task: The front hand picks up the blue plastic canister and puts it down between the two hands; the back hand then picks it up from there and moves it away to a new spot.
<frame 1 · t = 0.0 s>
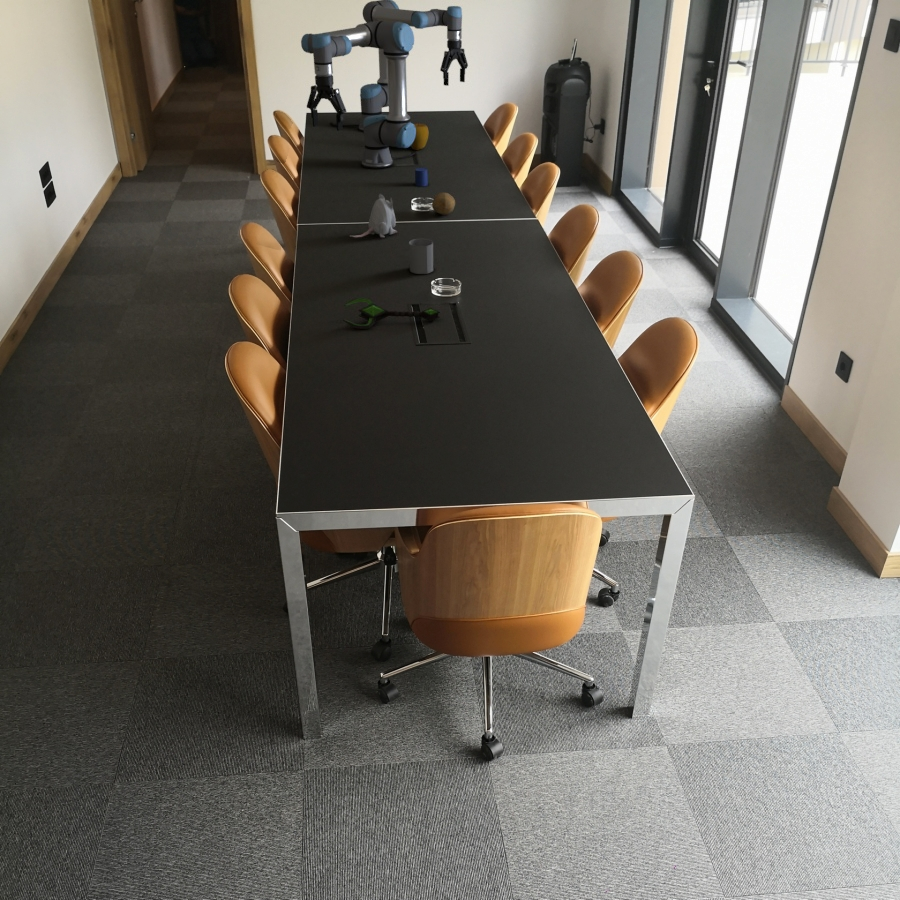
front hand: (327, 128, 372), 28 cm above the table, tool pointing down, fingers open, 13 cm apart
back hand: (454, 83, 461), 28 cm above the table, tool pointing down, fingers open, 13 cm apart
cup: (421, 270, 308), on the table
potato: (443, 213, 363), on the table
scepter: (392, 321, 271), on the table
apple: (418, 149, 455), on the table
toy: (373, 238, 337), on the table
canister: (421, 184, 399), on the table
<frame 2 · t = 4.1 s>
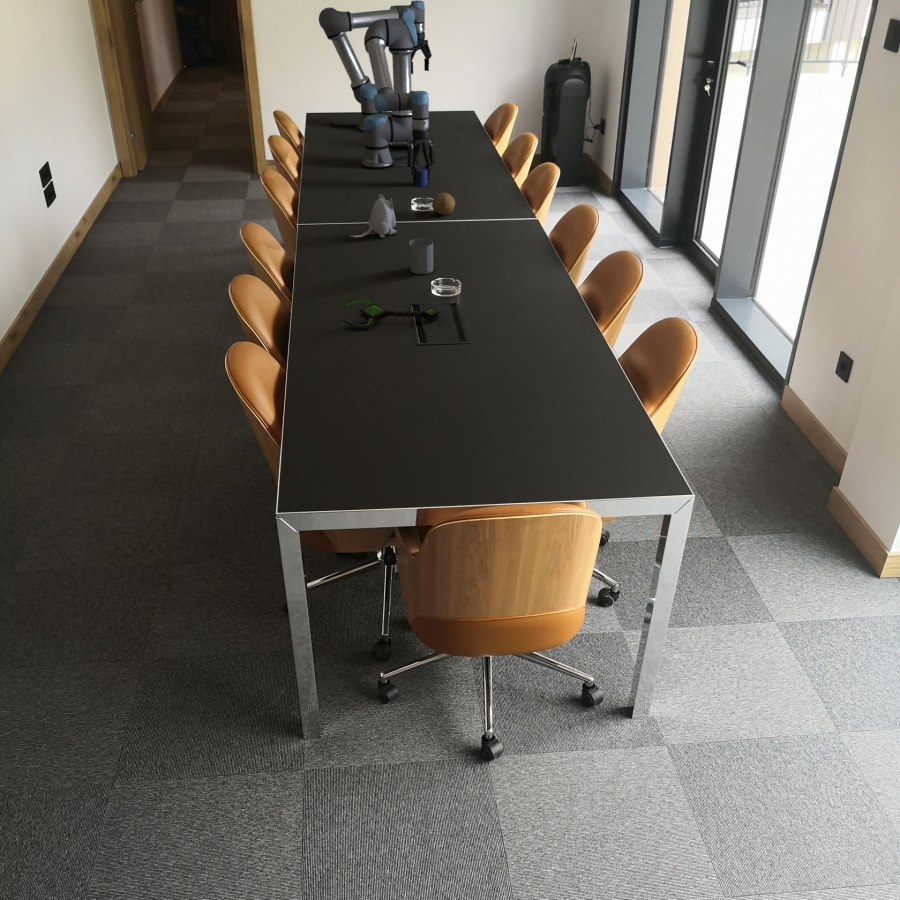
front hand: (421, 181, 398), 2 cm above the table, tool pointing down, fingers closed on canister, 6 cm apart
back hand: (418, 72, 498), 27 cm above the table, tool pointing down, fingers open, 13 cm apart
canister: (421, 184, 399), on the table, touching front hand
everything else where it was.
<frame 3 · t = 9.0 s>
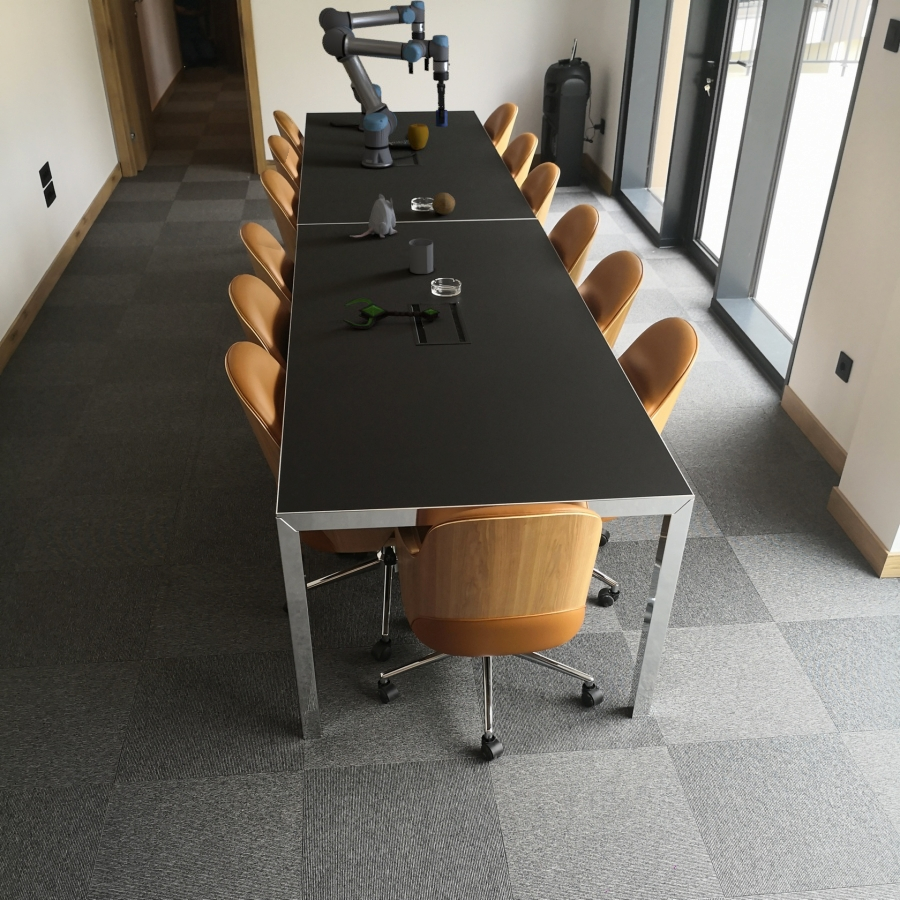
front hand: (441, 122, 424), 19 cm above the table, tool pointing down, fingers closed on canister, 6 cm apart
back hand: (418, 72, 498), 27 cm above the table, tool pointing down, fingers open, 13 cm apart
canister: (441, 125, 425), point 17 cm above the table, touching front hand
everything else where it was.
when the front hand's fingers open (3 cm above the table, at t = 14.0 s): canister drops 1 cm, on the table.
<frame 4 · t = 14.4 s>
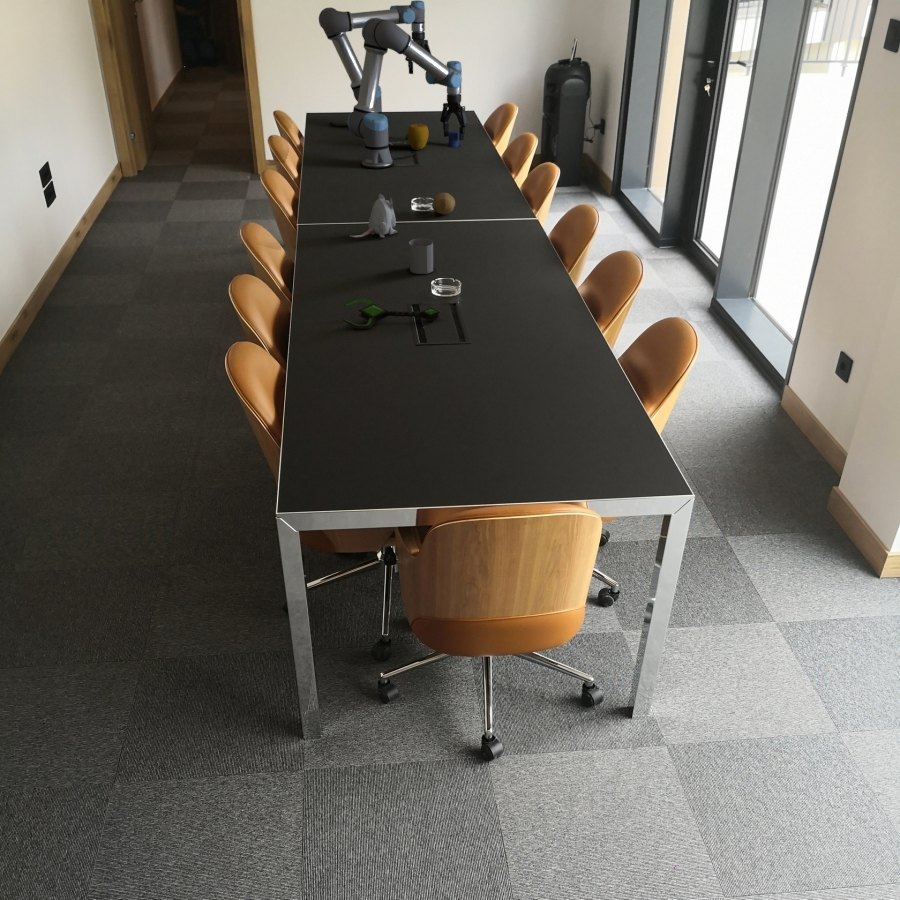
front hand: (453, 138, 459), 4 cm above the table, tool pointing down, fingers open, 10 cm apart
back hand: (418, 72, 498), 27 cm above the table, tool pointing down, fingers open, 13 cm apart
canister: (453, 145, 461), on the table
everything else where it was.
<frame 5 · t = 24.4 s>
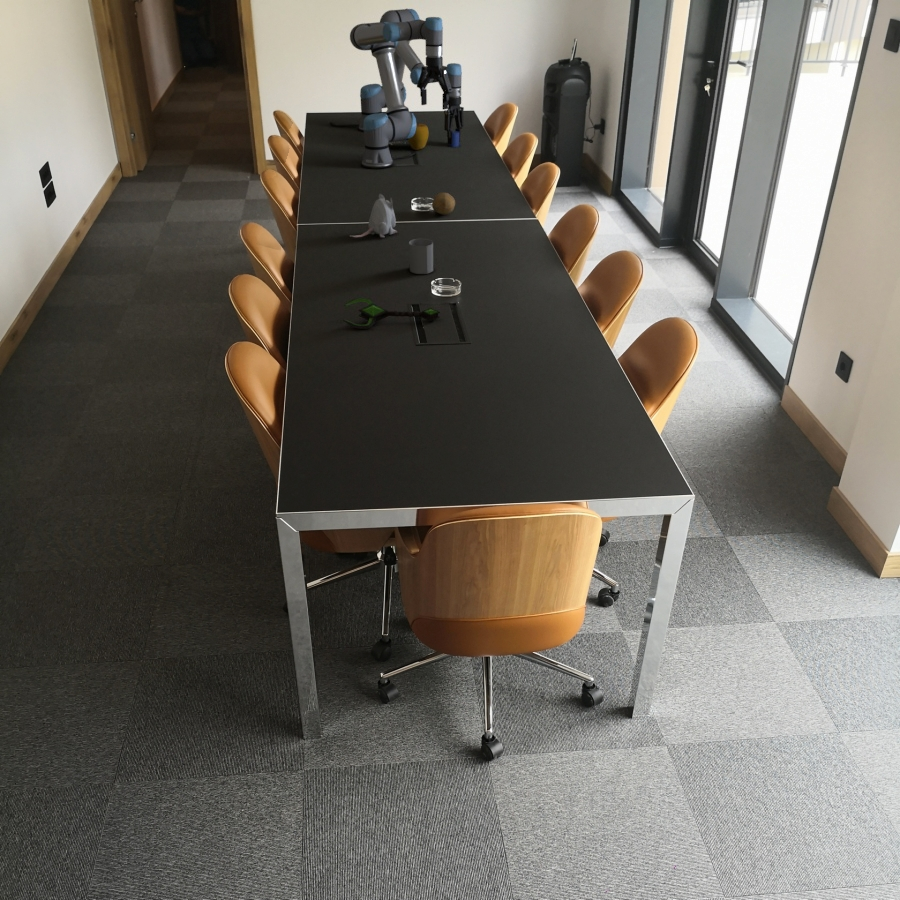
front hand: (434, 106, 395), 31 cm above the table, tool pointing down, fingers open, 13 cm apart
back hand: (453, 142, 460), 2 cm above the table, tool pointing down, fingers closed on canister, 6 cm apart
canister: (453, 145, 461), on the table, touching back hand
everything else where it was.
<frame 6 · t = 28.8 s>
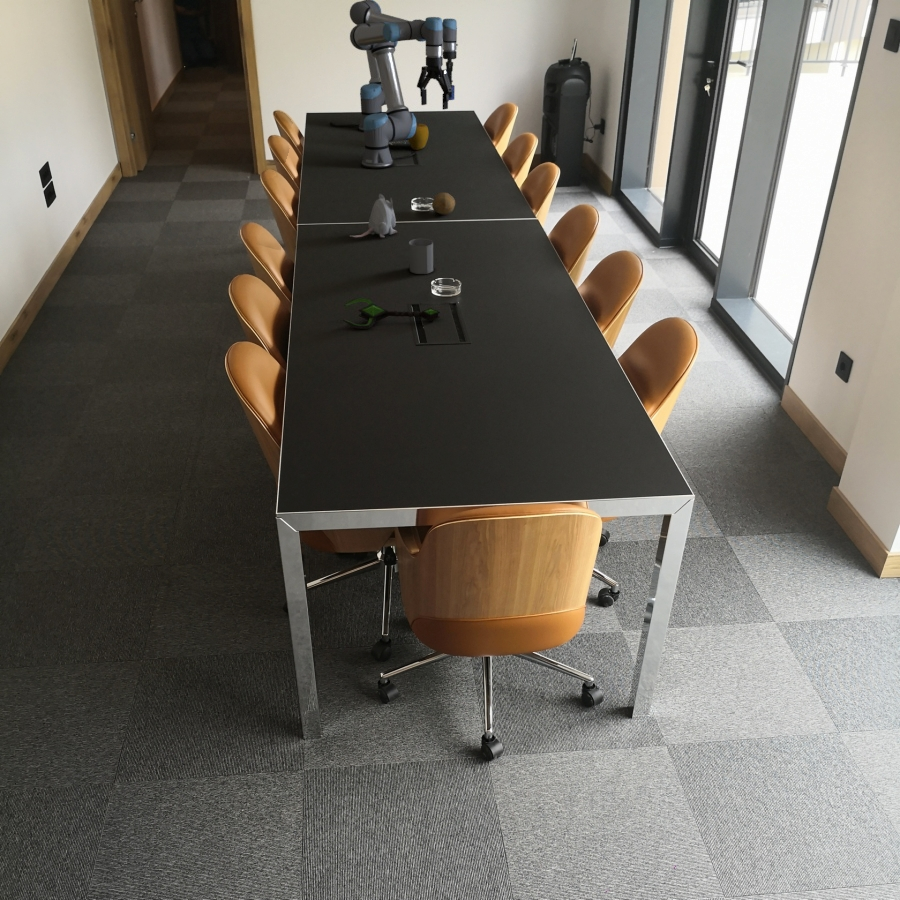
front hand: (434, 106, 395), 31 cm above the table, tool pointing down, fingers open, 13 cm apart
back hand: (449, 96, 481), 18 cm above the table, tool pointing down, fingers closed on canister, 6 cm apart
canister: (449, 99, 482), point 17 cm above the table, touching back hand
everything else where it was.
when the back hand's fingers open (3 cm above the table, at t = 33.5 s): canister drops 1 cm, on the table.
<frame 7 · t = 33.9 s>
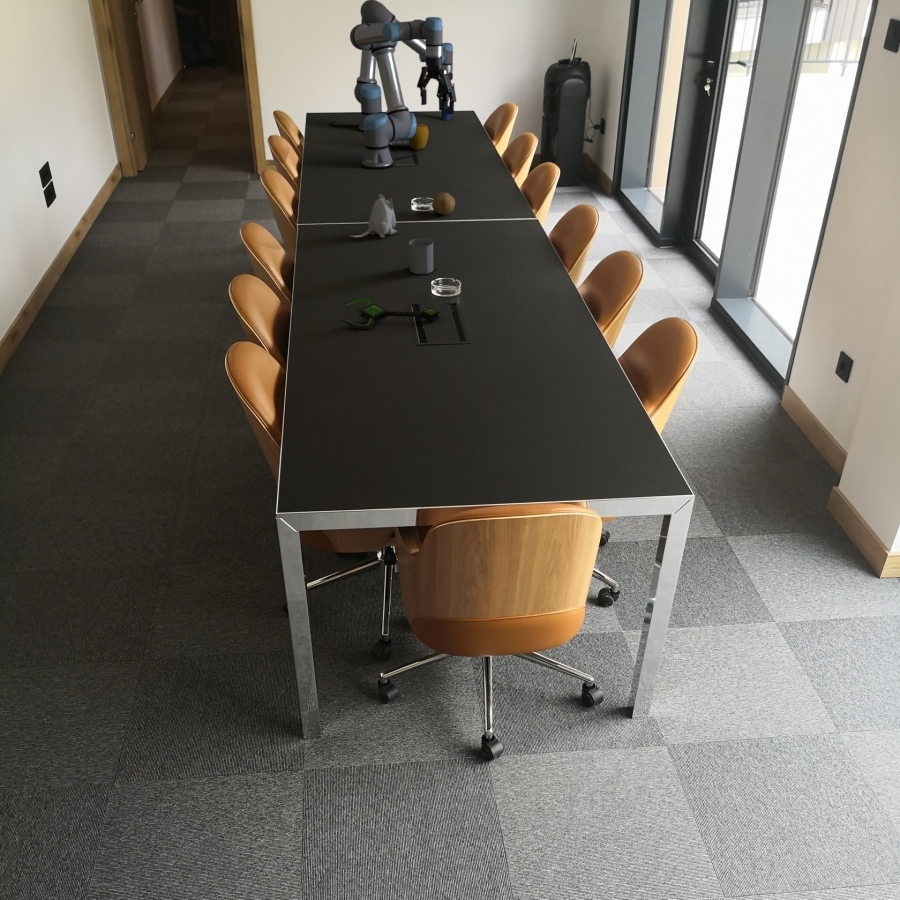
front hand: (434, 106, 395), 31 cm above the table, tool pointing down, fingers open, 13 cm apart
back hand: (446, 112, 514), 4 cm above the table, tool pointing down, fingers open, 11 cm apart
canister: (446, 119, 516), on the table
everything else where it was.
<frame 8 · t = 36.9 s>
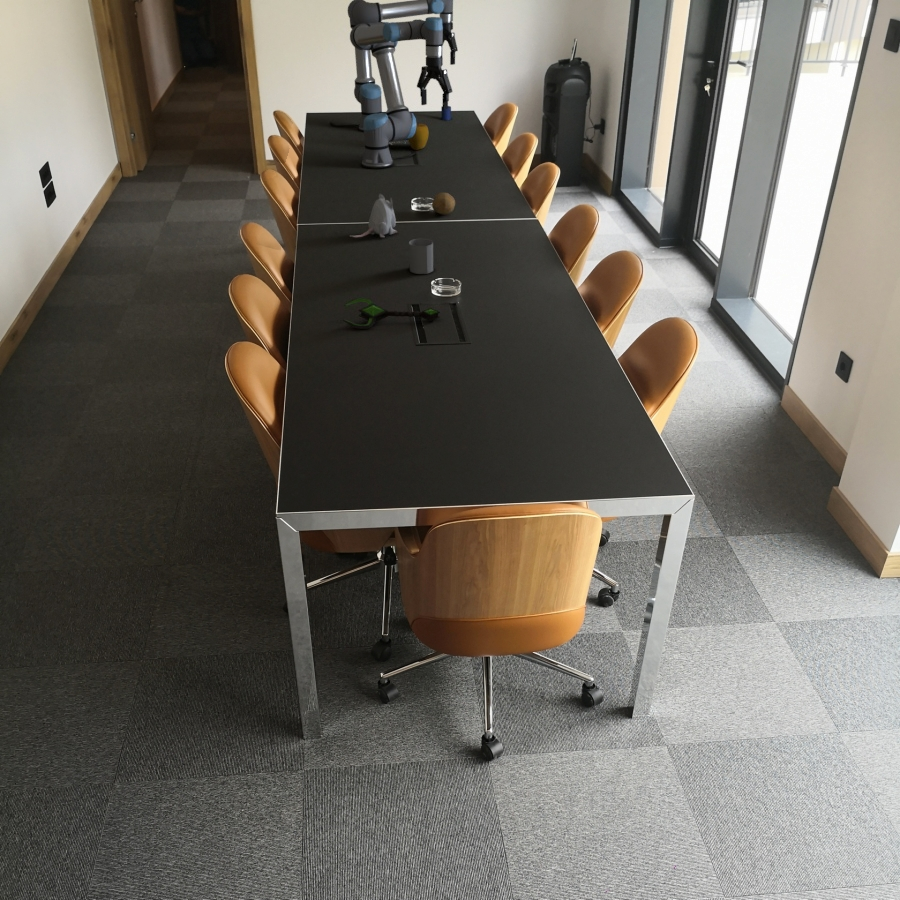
front hand: (434, 106, 395), 31 cm above the table, tool pointing down, fingers open, 13 cm apart
back hand: (446, 62, 499), 31 cm above the table, tool pointing down, fingers open, 13 cm apart
nothing on the table moved.
at the end: canister inside the target area (0.1 cm from its centre), on the table; canister tilted 0°; the two hands never held the canister at the same time; the front hand is holding nothing; the back hand is holding nothing; canister at rest at the end (0.0 cm/s) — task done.
